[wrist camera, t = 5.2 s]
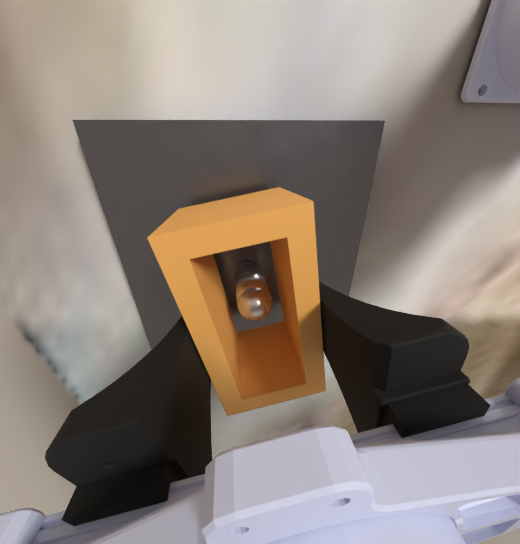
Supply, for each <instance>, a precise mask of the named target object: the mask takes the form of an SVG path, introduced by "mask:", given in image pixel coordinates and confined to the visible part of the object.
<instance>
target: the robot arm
mask: <svg viewBox="0 0 520 544" xmlns="http://www.w3.org/2000/svg"><path fill="white" fill-rule="evenodd" d="M479 89H480V93H479V94H478V91H479ZM461 100H462V101H463V102H465V103H520V0H491V3H490V7H489V10H488V13H487V16H486V19H485V22H484V25H483V28H482V31H481V34H480V37H479V40H478V43H477V46H476V49H475V52H474V56H473V59H472V62H471V65H470V68H469V71H468V74H467V77H466V80H465V83H464V86H463V89H462V92H461ZM319 294H320V309H321V325H322V340H323V351H324V353H325V355H326V357H327V359H328V361H329V364H330V366H331V368H332V370H333V373H334V375H335V377H336V380H337V382H338V384H339V387H340V389H341V391H342V394H343V396H344V399H345V401H346V404H347V406H348V408H349V411H350V413H351V416H352V418H353V421H354V424H355V426H356V429H357V431H358V433H357V434H353V435H349V434H348V432H347V430H345V429H343V428H340V427H337V426H333V425H324V426H315V427H310V428H307V429H303V430H299V431H295V432H291V433H288V434H284V435H280V436H276V437H272V438H269V439H265V440H261V441H257V442H253V443H249V444H246V445H242V446H238V447H234V448H232V449H229V450H227V451H224V452H222V453H220V454H218V455H217V456H216V457H215V458H214V459H213V460H212V448H211V410H210V387H211V378H210V376H209V374H208V372H207V369H206V367H205V365H204V363H203V361H202V358H201V356H200V354H199V352H198V350H197V347H196V345H195V343H194V341H193V338H192V336H191V334H190V332H189V330H188V327H187V325H186V323H185V321H184V318H183V316H181V317H180V319H179V320H178V321H177V323H176V324H175V325H174V326H173V328H172V329H171V330H170V331H169V332H168V333H167V335H166V336H165V337H164V338H163V339H162V340H161V341H160V342H159V343H158V344H157V345H156V346H155V347H154V348H153V349H152V350H151V351H150V352H149V353H148V354H147V355H146V356H145V357H144V358H143V359H142V360H140V361H139V362H138V363H137V364H136V365H135V366H133V367H132V368H131V369H130V370H129V371H128V372H126V373H125V374H124V375H123V376H121V377H120V378H119V379H117V380H116V381H115V382H113V383H112V384H111V385H109V386H108V387H106V388H105V389H104V390H102V391H101V392H99V393H98V394H96V395H95V396H93V397H92V398H90V399H89V400H87V401H86V402H84V403H83V404H81V405H80V406H78V407H77V408H75V409H73V410H72V411H71V412H70V414H69V415H68V417H67V419H66V420H65V422H64V423H63V425H62V427H61V428H60V430H59V432H58V433H57V435H56V437H55V438H54V440H53V441H52V443H51V445H50V446H49V448H48V449H47V451H46V456H45V459H46V461H47V464H48V466H49V467H50V468H51V469H53V471H55V472H56V473H58V474H59V475H61V476H62V477H64V478H65V479H67V480H68V481H70V482H71V483H73V484H74V485H76V486H77V487H76V489H75V491H74V494H73V496H72V498H71V500H70V502H69V504H68V507H67V509H66V511H63V512H59V513H56V514H52V515H48V516H45V514H43V513H42V512H41V511H39V510H36V509H33V508H24V509H18V510H15V511H11V512H7V513H3V514H0V544H477V543H480V542H482V541H485V540H488V539H491V538H493V537H497V536H499V535H502V534H505V533H508V532H510V531H514V530H516V529H519V528H520V378H518V379H515V380H514V381H512V382H511V383H510V384H509V385H508V387H507V389H506V391H505V394H504V395H500V396H496V397H492V398H488V399H485V400H484V399H483V398H482V397H481V396H480V395H479V394H478V393H477V392H476V391H475V390H474V389H472V388H471V387H470V386H469V385H468V384H469V383H470V379H469V378H468V377H467V376H466V375H465V374H464V373H463V372H461V368H462V366H463V364H464V361H465V359H466V356H467V354H468V350H469V343H468V339H467V338H466V337H465V335H463V334H462V333H461V332H459V331H458V330H457V329H455V328H454V327H452V326H451V325H450V324H448V323H447V322H446V321H444V320H443V319H440V318H433V317H426V316H419V315H412V314H407V313H402V312H397V311H393V310H388V309H385V308H381V307H377V306H374V305H371V304H367V303H364V302H362V301H359V300H356V299H354V298H351V297H349V296H346V295H344V294H342V293H340V292H338V291H336V290H334V289H332V288H330V287H328V286H326V285H324V284H323V283H321V282H319Z"/></svg>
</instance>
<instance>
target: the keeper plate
mask: <svg viewBox="0 0 520 544" xmlns="http://www.w3.org/2000/svg"><path fill="white" fill-rule="evenodd" d="M384 122H385V121H312V120H73V123H74V126H75V129H76V132H77V135H78V137H79V140H80V143H81V146H82V149H83V152H84V155H85V158H86V161H87V163H88V166H89V169H90V172H91V175H92V178H93V181H94V184H95V187H96V189H97V192H98V195H99V198H100V201H101V204H102V207H103V210H104V212H105V215H106V218H107V221H108V224H109V227H110V230H111V233H112V236H113V238H114V241H115V244H116V247H117V250H118V253H119V256H120V259H121V262H122V264H123V267H124V270H125V273H126V276H127V279H128V282H129V285H130V287H131V290H132V293H133V296H134V299H135V302H136V305H137V308H138V311H139V313H140V316H141V319H142V322H143V325H144V328H145V331H146V334H147V337H148V339H149V342H150V345H151V348H152V349H153V348H154V347H155V346H156V345H157V344H158V343H159V342H160V341H161V340H162V339H163V338H164V337H165V336H166V335H167V333H168V332H169V331H170V330H171V329H172V328H173V326H174V325H175V324H176V323H177V321H178V320H179V319H180V317H181V316H182V314H181V312H180V310H179V307H178V305H177V303H176V301H175V298H174V296H173V294H172V292H171V290H170V287H169V285H168V283H167V281H166V278H165V276H164V274H163V272H162V270H161V267H160V265H159V263H158V261H157V258H156V256H155V254H154V252H153V250H152V247H151V245H150V243H149V241H148V238H147V237H149V236H150V235H151V234H152V233H153V232H154V231H155V230H156V229H157V228H158V227H159V226H161V225H162V224H163V223H164V222H165V221H166V220H167V219H168V218H169V217H170V216H171V215H173V214H174V213H175V212H176V211H177V210H178V209H180V208H185V207H189V206H194V205H198V204H203V203H208V202H212V201H217V200H222V199H226V198H231V197H236V196H240V195H245V194H250V193H254V192H259V191H264V190H268V189H273V188H278V187H281V188H283V189H285V190H288V191H290V192H293V193H295V194H297V195H300V196H302V197H305V198H307V199H309V200H312V201H314V217H315V232H316V248H317V263H318V278H319V282H321V283H323V284H324V285H326V286H328V287H330V288H332V289H334V290H336V291H338V292H340V293H342V294H344V295H346V296H349V291H350V286H351V281H352V276H353V272H354V267H355V262H356V257H357V252H358V247H359V243H360V238H361V233H362V228H363V223H364V218H365V214H366V209H367V204H368V199H369V194H370V189H371V185H372V180H373V175H374V170H375V165H376V160H377V156H378V151H379V146H380V141H381V136H382V131H383V127H384ZM213 255H214V258H215V262H216V265H217V268H218V271H219V275H220V278H221V281H222V284H223V287H224V291H225V294H226V297H227V300H228V303H229V307H230V310H231V313H232V316H233V320H234V323H235V326H236V329H237V332H240V331H245V330H249V329H253V328H257V327H261V326H265V325H270V324H274V323H278V322H282V321H283V315H282V309H281V303H280V297H279V292H278V286H277V280H276V274H275V268H274V262H273V257H272V251H271V245H270V241H268V242H264V243H259V244H255V245H251V246H246V247H242V248H237V249H233V250H228V251H224V252H219V253H215V254H213Z"/></svg>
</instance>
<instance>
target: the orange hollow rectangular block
mask: <svg viewBox="0 0 520 544" xmlns="http://www.w3.org/2000/svg"><path fill="white" fill-rule="evenodd" d="M147 238H148V241H149V243H150V245H151V247H152V250H153V252H154V254H155V256H156V258H157V261H158V263H159V265H160V267H161V270H162V272H163V274H164V276H165V278H166V281H167V283H168V285H169V287H170V290H171V292H172V294H173V296H174V298H175V301H176V303H177V305H178V307H179V310H180V312H181V314H182V316H183V318H184V321H185V323H186V325H187V327H188V330H189V332H190V334H191V336H192V338H193V341H194V343H195V345H196V347H197V350H198V352H199V354H200V356H201V358H202V361H203V363H204V365H205V367H206V369H207V372H208V374H209V376H210V378H211V381H212V383H213V385H214V387H215V389H216V392H217V394H218V396H219V398H220V401H221V403H222V405H223V407H224V409H225V412H226V414H227V416H230V415H234V414H238V413H241V412H245V411H249V410H253V409H257V408H261V407H265V406H269V405H273V404H277V403H281V402H285V401H288V400H292V399H296V398H300V397H304V396H308V395H312V394H316V393H320V392H324V391H326V386H325V371H324V355H323V340H322V325H321V309H320V294H319V278H318V263H317V248H316V232H315V217H314V201H312V200H309V199H307V198H305V197H302V196H300V195H297V194H295V193H293V192H290V191H288V190H285V189H283V188H281V187H278V188H273V189H268V190H264V191H259V192H254V193H250V194H245V195H240V196H236V197H231V198H226V199H222V200H217V201H212V202H208V203H203V204H198V205H194V206H189V207H185V208H180V209H178V210H177V211H176V212H175V213H174V214H173V215H171V216H170V217H169V218H168V219H167V220H166V221H165V222H164V223H163V224H162V225H161V226H159V227H158V228H157V229H156V230H155V231H154V232H153V233H152V234H151V235H150V236H149V237H147ZM268 241H270V245H271V251H272V257H273V262H274V268H275V274H276V280H277V286H278V292H279V297H280V303H281V309H282V315H283V321H282V322H278V323H274V324H270V325H265V326H261V327H257V328H253V329H249V330H245V331H240V332H237V329H236V326H235V323H234V320H233V316H232V313H231V310H230V307H229V303H228V300H227V297H226V294H225V291H224V287H223V284H222V281H221V278H220V275H219V271H218V268H217V265H216V262H215V258H214V255H213V254H215V253H219V252H224V251H228V250H233V249H237V248H242V247H246V246H251V245H255V244H259V243H264V242H268Z"/></svg>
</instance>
